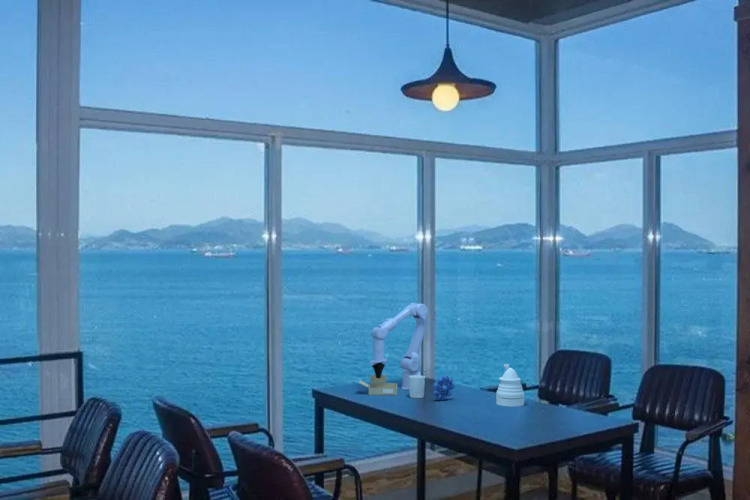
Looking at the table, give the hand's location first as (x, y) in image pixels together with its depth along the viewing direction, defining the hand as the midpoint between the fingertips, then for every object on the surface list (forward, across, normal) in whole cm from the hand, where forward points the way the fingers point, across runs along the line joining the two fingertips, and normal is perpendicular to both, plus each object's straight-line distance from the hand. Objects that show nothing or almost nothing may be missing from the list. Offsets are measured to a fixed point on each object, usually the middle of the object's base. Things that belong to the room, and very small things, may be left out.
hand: (378, 378), depth 388 cm
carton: (+7, -1, -4) cm, 8 cm away
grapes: (+7, -2, -37) cm, 38 cm away
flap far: (+3, -7, +1) cm, 8 cm away
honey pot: (+7, +9, -68) cm, 68 cm away
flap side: (+3, +3, +2) cm, 5 cm away
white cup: (+7, -2, -24) cm, 25 cm away
